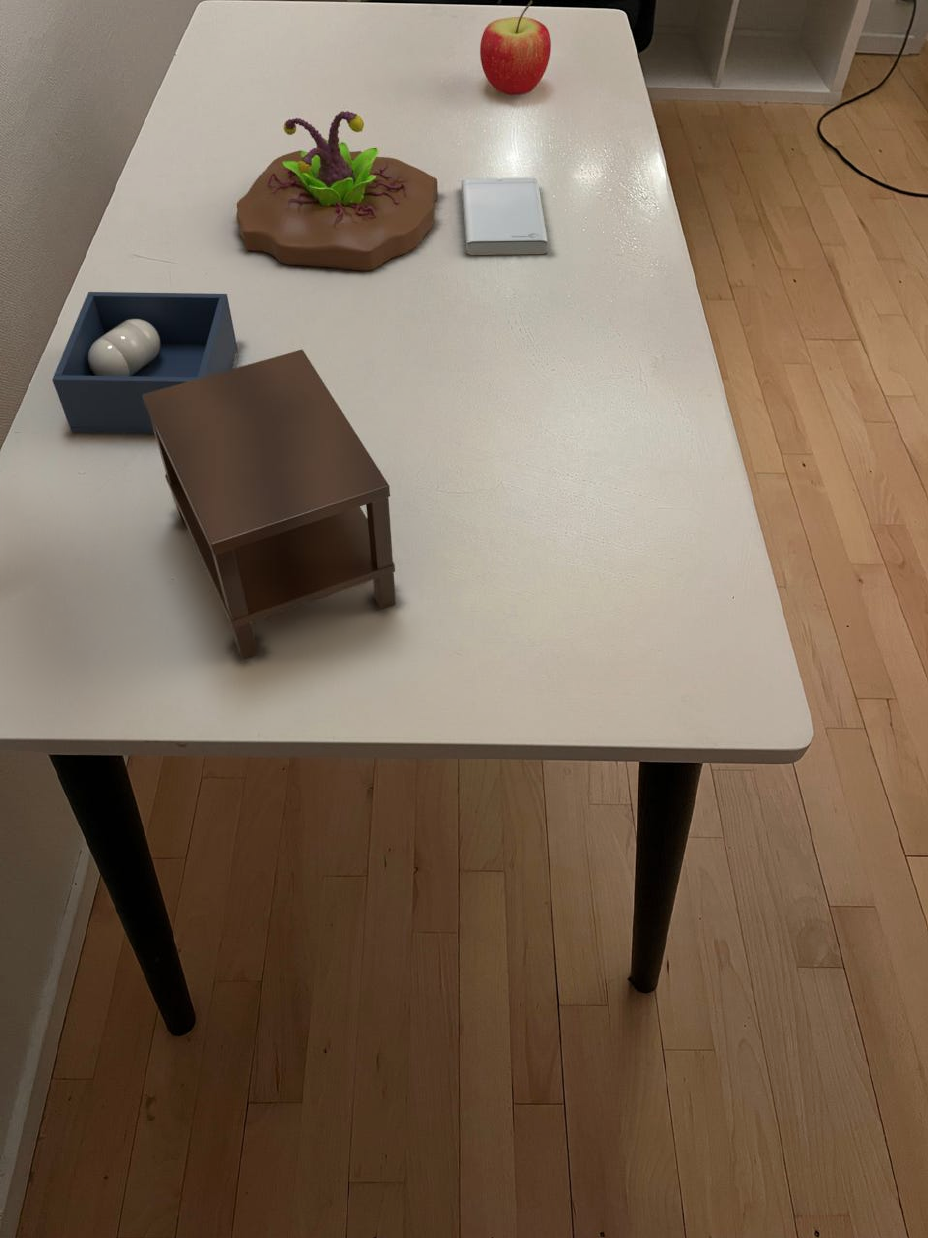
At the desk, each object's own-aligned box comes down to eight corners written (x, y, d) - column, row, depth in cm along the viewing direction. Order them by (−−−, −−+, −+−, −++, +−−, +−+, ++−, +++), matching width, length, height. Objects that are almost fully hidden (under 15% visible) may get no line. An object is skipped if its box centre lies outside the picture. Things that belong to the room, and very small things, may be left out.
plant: (394, 287, 103) (388, 177, 94) (213, 250, 107) (191, 142, 98) (459, 186, 115) (460, 81, 106) (294, 157, 119) (282, 52, 110)
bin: (215, 435, 89) (203, 381, 85) (71, 432, 89) (51, 379, 85) (237, 346, 97) (226, 293, 93) (104, 344, 97) (88, 291, 93)
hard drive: (548, 239, 106) (537, 175, 113) (466, 241, 105) (461, 176, 113) (547, 254, 107) (536, 190, 115) (466, 256, 107) (461, 191, 114)
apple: (556, 101, 128) (563, 12, 120) (488, 108, 126) (490, 19, 119) (538, 71, 133) (543, -16, 125) (472, 78, 131) (473, -10, 124)
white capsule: (104, 359, 88) (71, 344, 90) (117, 398, 91) (85, 383, 93) (163, 317, 92) (130, 304, 93) (174, 356, 95) (142, 342, 96)
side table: (241, 661, 74) (210, 544, 65) (176, 515, 83) (141, 394, 74) (397, 604, 78) (389, 485, 68) (318, 469, 87) (302, 348, 77)
